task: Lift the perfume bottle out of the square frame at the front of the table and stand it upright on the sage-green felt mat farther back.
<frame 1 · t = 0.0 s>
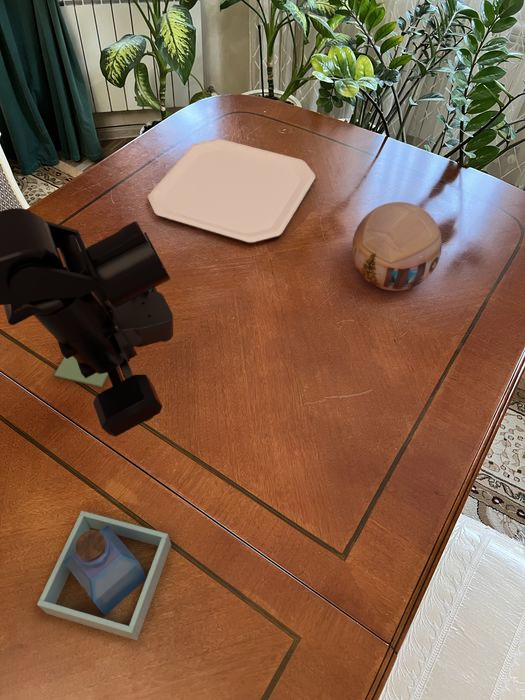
hand: (137, 389, 70), 15 cm above the table, tool pointing down, fingers open, 9 cm apart
square frame: (111, 578, 71), on the table
ornament: (387, 278, 105), on the table
perfume bottle: (111, 578, 71), resting in square frame
mat: (89, 362, 91), on the table
plate: (233, 194, 119), on the table
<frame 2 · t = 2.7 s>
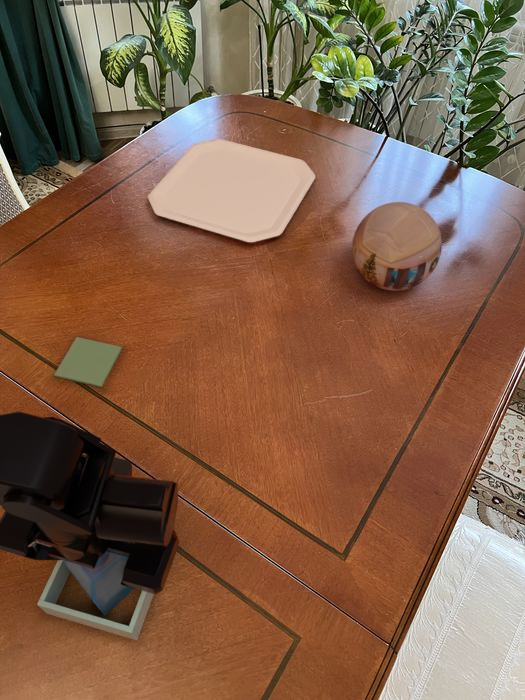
hand: (102, 564, 67), 5 cm above the table, tool pointing down, fingers closed on perfume bottle, 8 cm apart
perfume bottle: (111, 578, 71), resting in square frame, touching gripper
everything else where it was.
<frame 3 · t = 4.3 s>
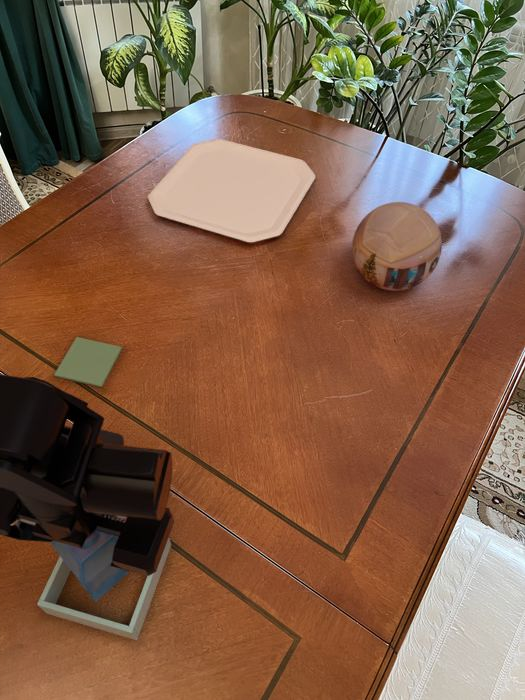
hand: (92, 547, 63), 11 cm above the table, tool pointing down, fingers closed on perfume bottle, 8 cm apart
perfume bottle: (102, 562, 67), point 5 cm above the table, touching gripper
everything else where it was.
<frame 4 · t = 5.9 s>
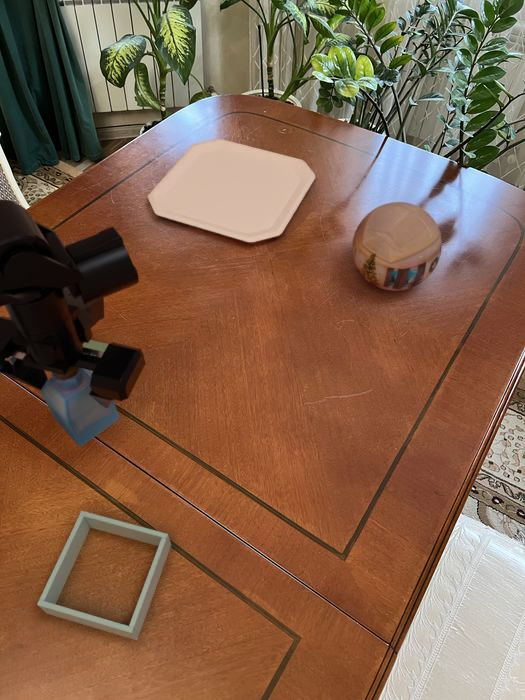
hand: (77, 396, 72), 13 cm above the table, tool pointing down, fingers closed on perfume bottle, 8 cm apart
perfume bottle: (87, 418, 76), point 8 cm above the table, touching gripper
everything else where it was.
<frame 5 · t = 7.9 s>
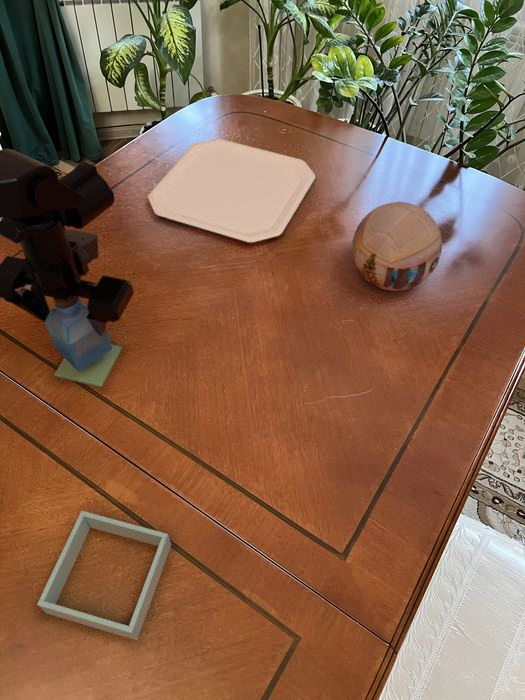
hand: (75, 327, 84), 9 cm above the table, tool pointing down, fingers closed on perfume bottle, 8 cm apart
perfume bottle: (84, 349, 89), point 3 cm above the table, touching gripper
everything else where it was.
when the fingers open (6 cm above the table, at t = 9.4 s): perfume bottle stays where it is, resting on mat.
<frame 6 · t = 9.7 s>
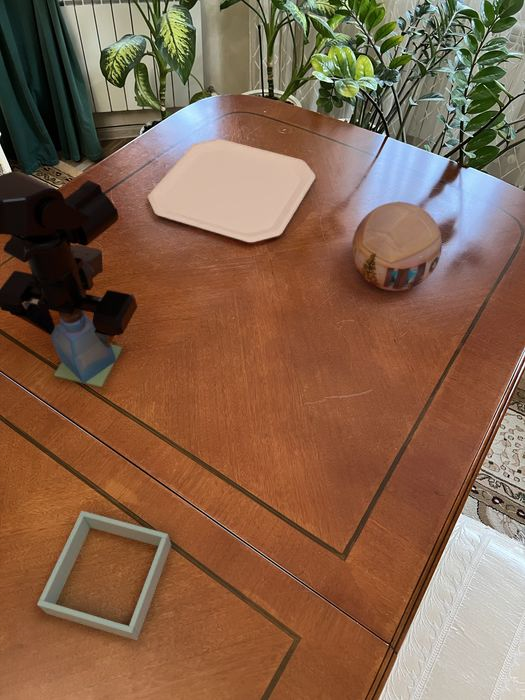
hand: (80, 339, 87), 6 cm above the table, tool pointing down, fingers open, 9 cm apart
perfume bottle: (88, 361, 91), resting on mat
everything else where it was.
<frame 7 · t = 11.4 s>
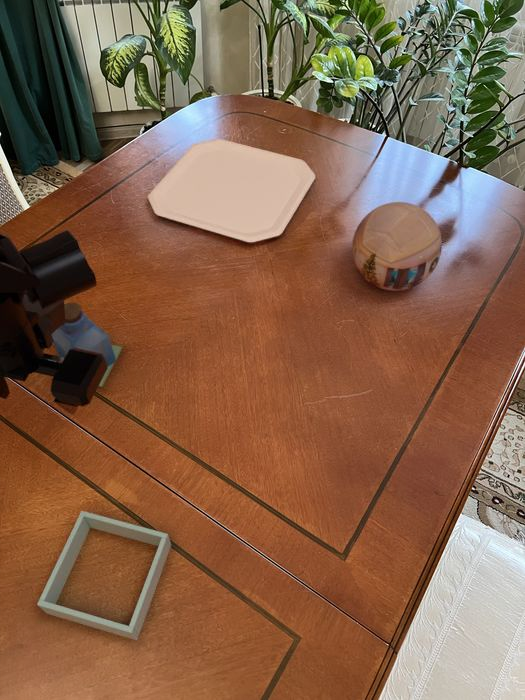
hand: (40, 403, 72), 13 cm above the table, tool pointing down, fingers open, 9 cm apart
nothing on the table moved.
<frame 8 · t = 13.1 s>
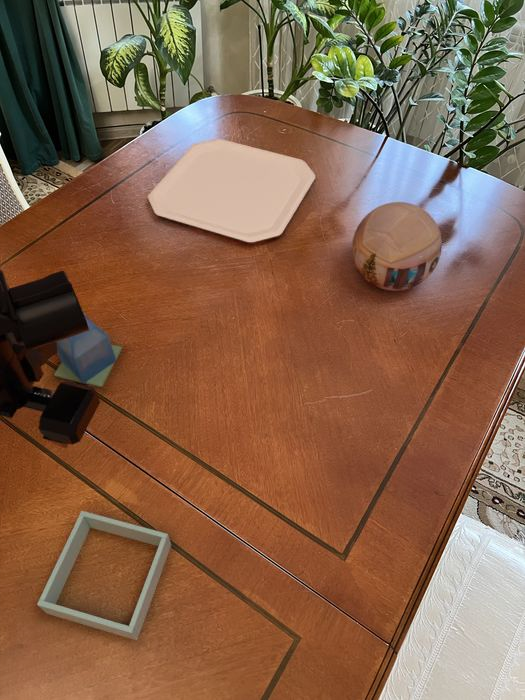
hand: (31, 435, 69), 13 cm above the table, tool pointing down, fingers open, 9 cm apart
nothing on the table moved.
at the end: perfume bottle inside the target area on the mat (0.1 cm from its centre), point 0.3 cm above the mat's base; perfume bottle tilted 0°; the gripper is holding nothing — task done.
